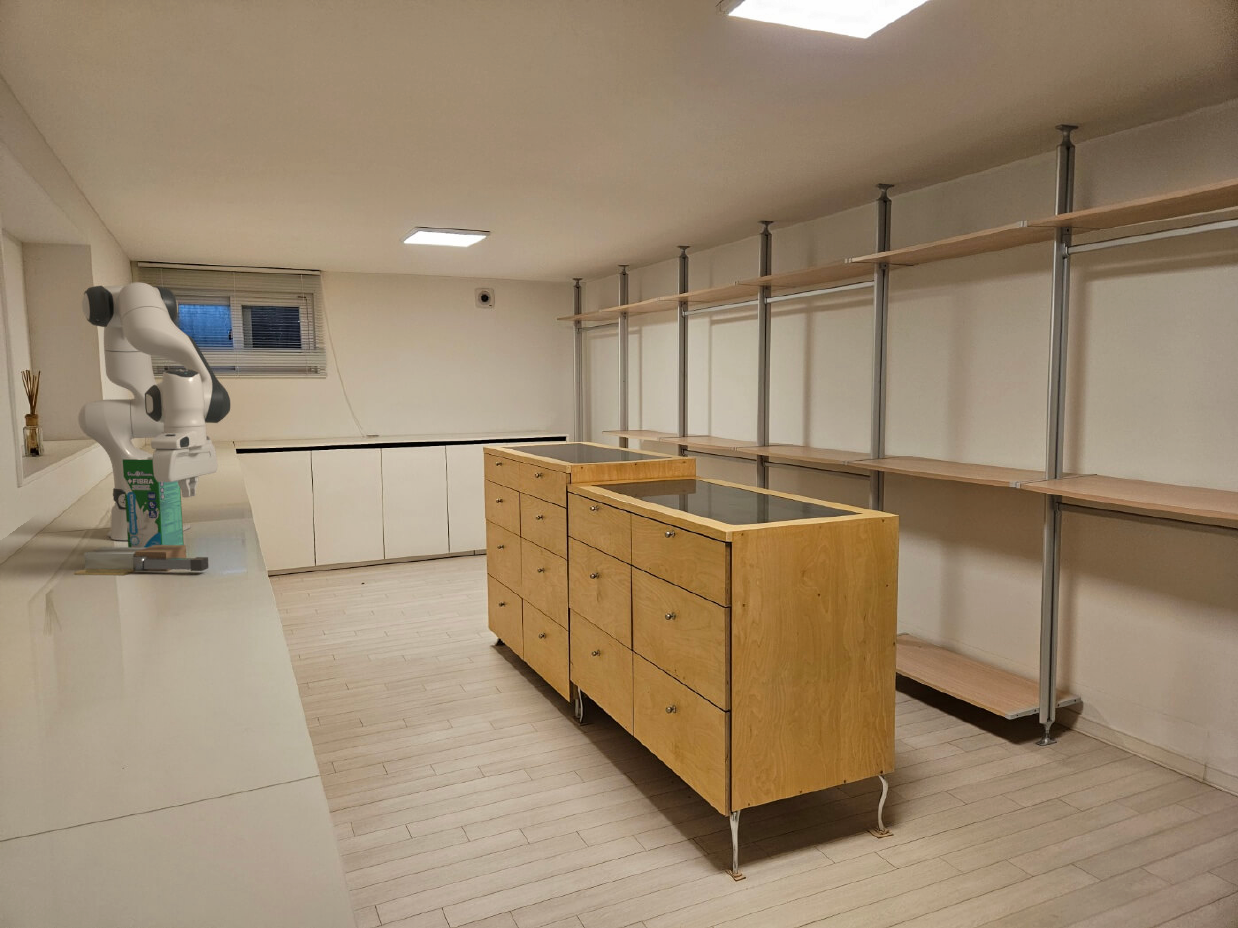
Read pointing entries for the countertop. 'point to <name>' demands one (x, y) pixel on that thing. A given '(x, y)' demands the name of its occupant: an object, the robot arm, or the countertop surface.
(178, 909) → the countertop surface
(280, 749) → the countertop surface
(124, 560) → the door edge
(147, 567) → the swing bar
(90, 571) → the strike pad
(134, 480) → the milk carton
